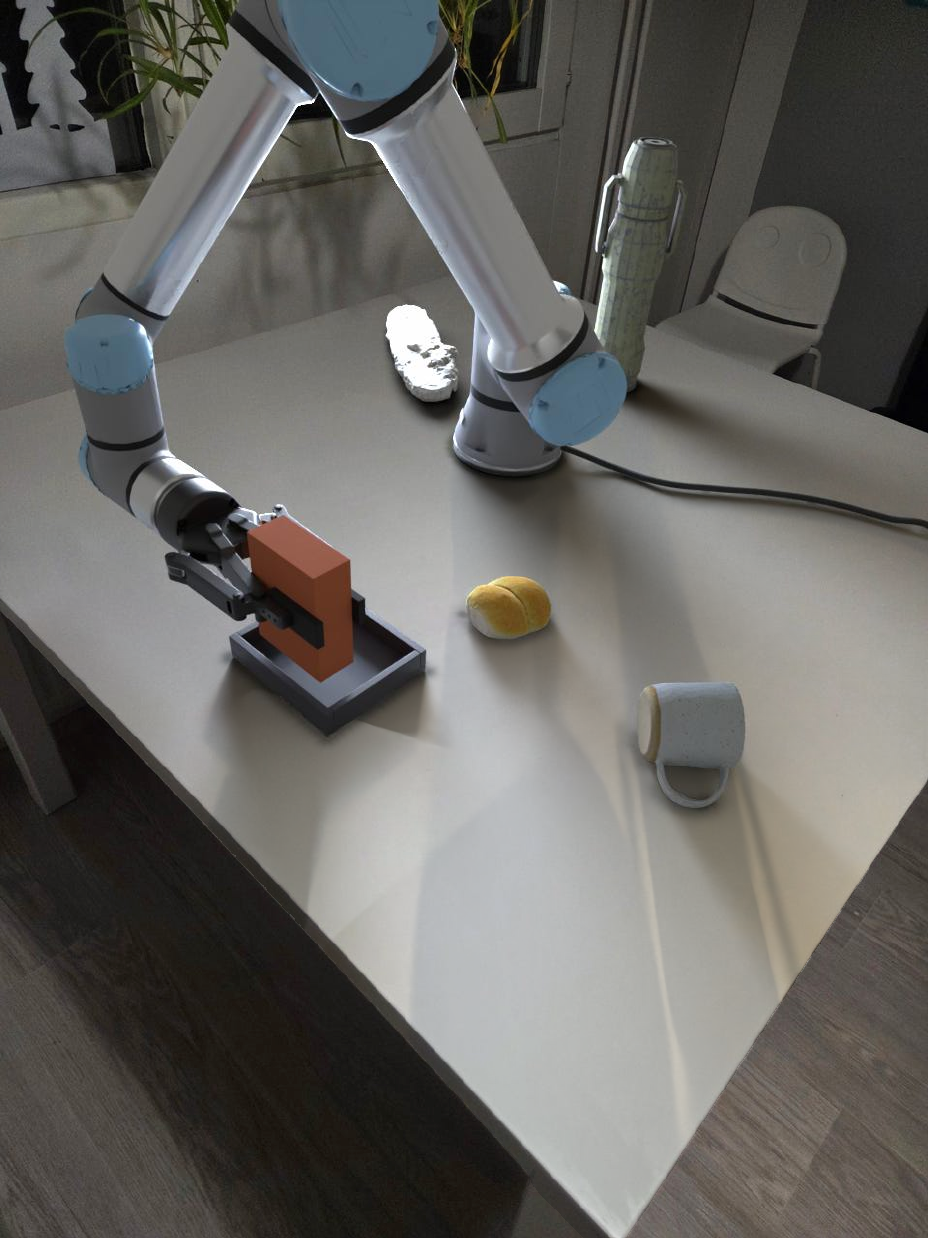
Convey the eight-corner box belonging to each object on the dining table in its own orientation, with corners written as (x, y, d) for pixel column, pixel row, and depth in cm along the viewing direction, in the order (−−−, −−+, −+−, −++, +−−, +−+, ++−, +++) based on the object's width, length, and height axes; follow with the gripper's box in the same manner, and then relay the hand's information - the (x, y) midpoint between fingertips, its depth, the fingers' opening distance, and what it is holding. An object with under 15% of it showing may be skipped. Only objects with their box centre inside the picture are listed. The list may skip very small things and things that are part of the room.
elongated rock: (432, 325, 152) (378, 329, 150) (431, 296, 149) (376, 300, 147) (470, 403, 125) (405, 408, 124) (470, 369, 122) (404, 374, 120)
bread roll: (563, 624, 89) (569, 595, 86) (495, 652, 85) (499, 623, 82) (518, 582, 94) (522, 553, 91) (452, 606, 90) (454, 577, 87)
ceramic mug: (628, 718, 79) (644, 661, 73) (712, 721, 79) (734, 665, 74) (647, 812, 71) (667, 756, 66) (740, 815, 71) (768, 759, 66)
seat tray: (330, 601, 89) (329, 581, 87) (425, 670, 82) (426, 649, 80) (232, 656, 82) (228, 635, 80) (327, 737, 75) (326, 716, 73)
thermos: (652, 393, 133) (708, 150, 110) (581, 393, 132) (623, 146, 109) (637, 370, 140) (687, 135, 117) (569, 369, 138) (606, 131, 115)
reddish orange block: (292, 616, 81) (283, 514, 73) (353, 662, 77) (350, 559, 69) (259, 634, 79) (246, 531, 71) (320, 683, 75) (313, 579, 67)
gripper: (261, 510, 90) (411, 613, 78) (116, 575, 80) (264, 703, 68) (254, 449, 85) (413, 549, 74) (99, 510, 75) (255, 637, 64)
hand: (341, 623), depth 71 cm, fingers closed on reddish orange block, 4 cm apart
